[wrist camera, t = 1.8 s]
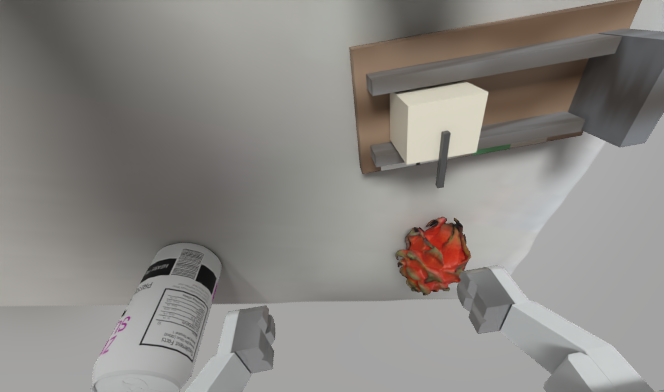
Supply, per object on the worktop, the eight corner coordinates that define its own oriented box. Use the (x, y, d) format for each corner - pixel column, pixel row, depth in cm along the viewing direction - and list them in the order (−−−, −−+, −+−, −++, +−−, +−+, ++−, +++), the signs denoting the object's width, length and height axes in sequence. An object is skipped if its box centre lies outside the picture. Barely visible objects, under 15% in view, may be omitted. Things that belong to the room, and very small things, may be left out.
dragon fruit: (392, 258, 43) (428, 193, 38) (444, 287, 40) (489, 222, 35) (378, 286, 35) (420, 210, 30) (440, 325, 33) (496, 249, 28)
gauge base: (349, 47, 23) (367, 63, 17) (624, -2, 23) (740, -2, 17) (360, 166, 30) (375, 208, 24) (570, 129, 30) (638, 162, 24)
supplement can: (226, 279, 39) (193, 403, 27) (164, 280, 38) (102, 410, 26) (219, 239, 34) (176, 368, 22) (149, 238, 33) (64, 374, 21)
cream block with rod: (389, 88, 24) (410, 108, 19) (456, 76, 24) (492, 94, 19) (390, 163, 28) (407, 193, 24) (446, 153, 28) (473, 181, 24)
